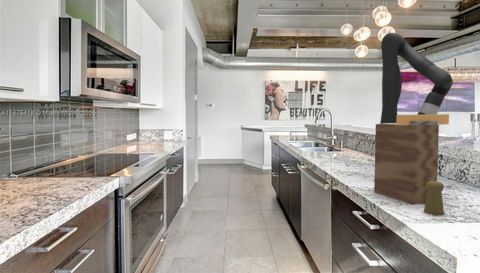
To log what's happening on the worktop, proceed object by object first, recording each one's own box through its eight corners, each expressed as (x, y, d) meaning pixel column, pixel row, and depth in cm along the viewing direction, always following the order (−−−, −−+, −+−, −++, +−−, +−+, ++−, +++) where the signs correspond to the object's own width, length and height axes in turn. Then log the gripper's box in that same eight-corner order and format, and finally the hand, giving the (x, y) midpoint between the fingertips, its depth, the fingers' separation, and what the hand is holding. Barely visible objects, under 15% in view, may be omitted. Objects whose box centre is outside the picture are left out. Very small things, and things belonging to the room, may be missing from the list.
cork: (441, 210, 110) (442, 180, 109) (446, 216, 104) (447, 183, 103) (421, 209, 112) (422, 179, 111) (425, 214, 106) (427, 182, 105)
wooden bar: (405, 125, 117) (406, 114, 117) (396, 125, 121) (396, 114, 121) (448, 124, 124) (449, 114, 124) (438, 124, 128) (438, 114, 128)
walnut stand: (412, 204, 118) (415, 121, 115) (374, 192, 137) (375, 120, 134) (436, 201, 121) (439, 120, 119) (395, 189, 140) (397, 120, 138)
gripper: (419, 113, 155) (405, 142, 158) (417, 109, 143) (402, 141, 146) (436, 118, 151) (420, 148, 154) (435, 115, 139) (418, 147, 142)
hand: (411, 145), depth 150 cm, fingers open, 8 cm apart
